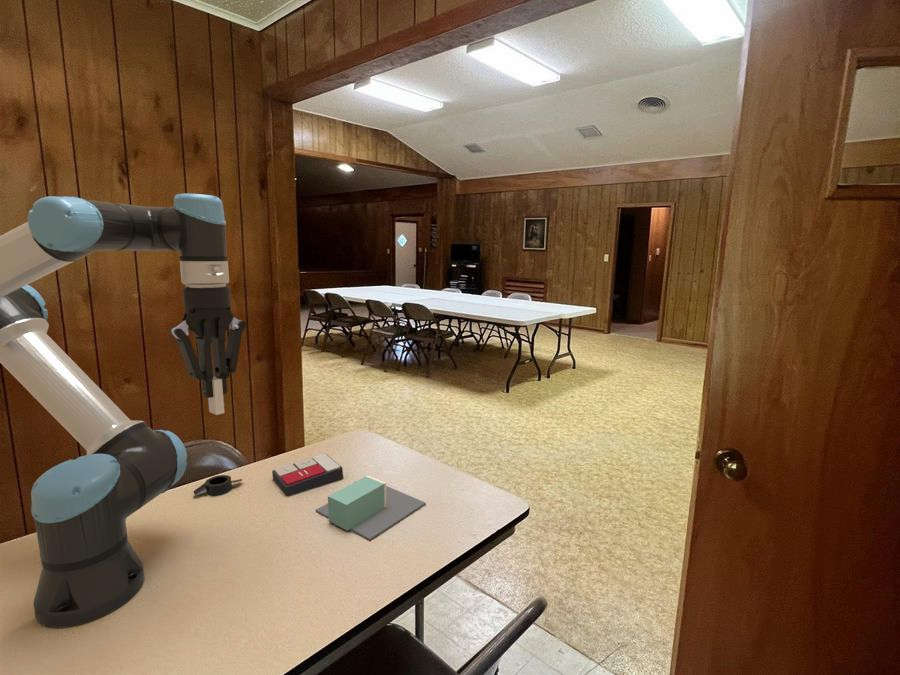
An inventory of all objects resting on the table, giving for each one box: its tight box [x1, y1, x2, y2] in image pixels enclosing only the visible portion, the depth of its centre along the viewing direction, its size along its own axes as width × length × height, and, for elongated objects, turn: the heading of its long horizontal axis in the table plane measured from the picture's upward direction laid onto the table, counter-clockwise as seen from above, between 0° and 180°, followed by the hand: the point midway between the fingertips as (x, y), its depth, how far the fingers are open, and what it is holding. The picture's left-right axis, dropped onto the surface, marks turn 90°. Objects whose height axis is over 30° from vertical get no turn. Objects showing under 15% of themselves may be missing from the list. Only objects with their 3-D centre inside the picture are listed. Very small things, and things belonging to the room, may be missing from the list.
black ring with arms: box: [193, 474, 243, 497], centre depth 116 cm, size 8×10×3 cm
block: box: [327, 474, 387, 531], centre depth 105 cm, size 6×6×12 cm
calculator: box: [271, 453, 344, 497], centre depth 122 cm, size 11×4×15 cm
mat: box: [315, 485, 427, 542], centre depth 109 cm, size 18×18×1 cm
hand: (216, 412), depth 87 cm, fingers closed
